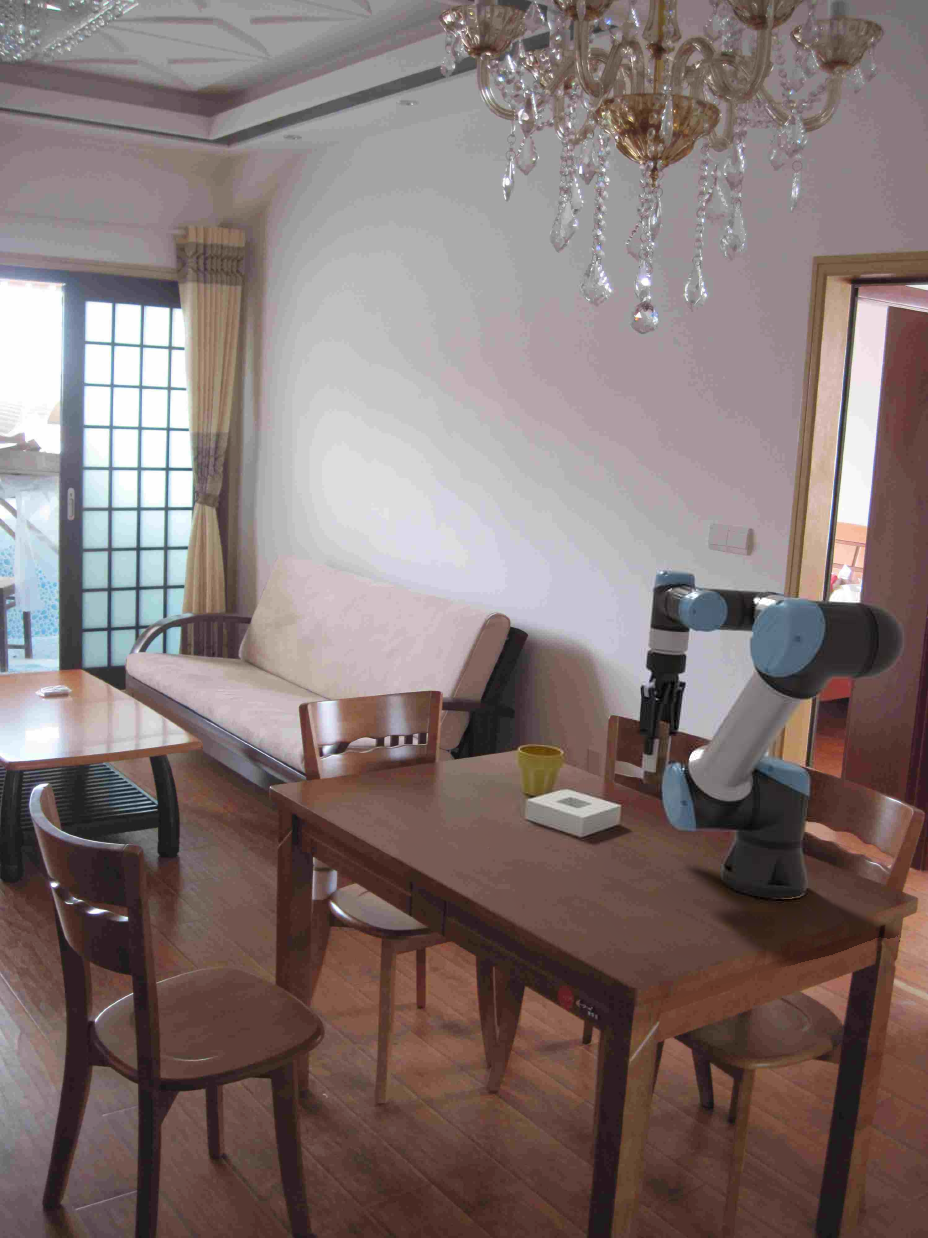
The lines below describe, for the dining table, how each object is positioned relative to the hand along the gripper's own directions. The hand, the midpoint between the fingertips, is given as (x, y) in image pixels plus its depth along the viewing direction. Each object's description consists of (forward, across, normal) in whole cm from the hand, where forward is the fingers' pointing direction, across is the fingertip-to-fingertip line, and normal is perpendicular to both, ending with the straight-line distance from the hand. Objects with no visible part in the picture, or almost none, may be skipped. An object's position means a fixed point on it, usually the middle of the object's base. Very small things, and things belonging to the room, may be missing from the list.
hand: (654, 768), depth 225 cm
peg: (+3, 0, 0) cm, 3 cm away
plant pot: (+15, -10, -34) cm, 39 cm away
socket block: (+15, +1, -17) cm, 23 cm away
